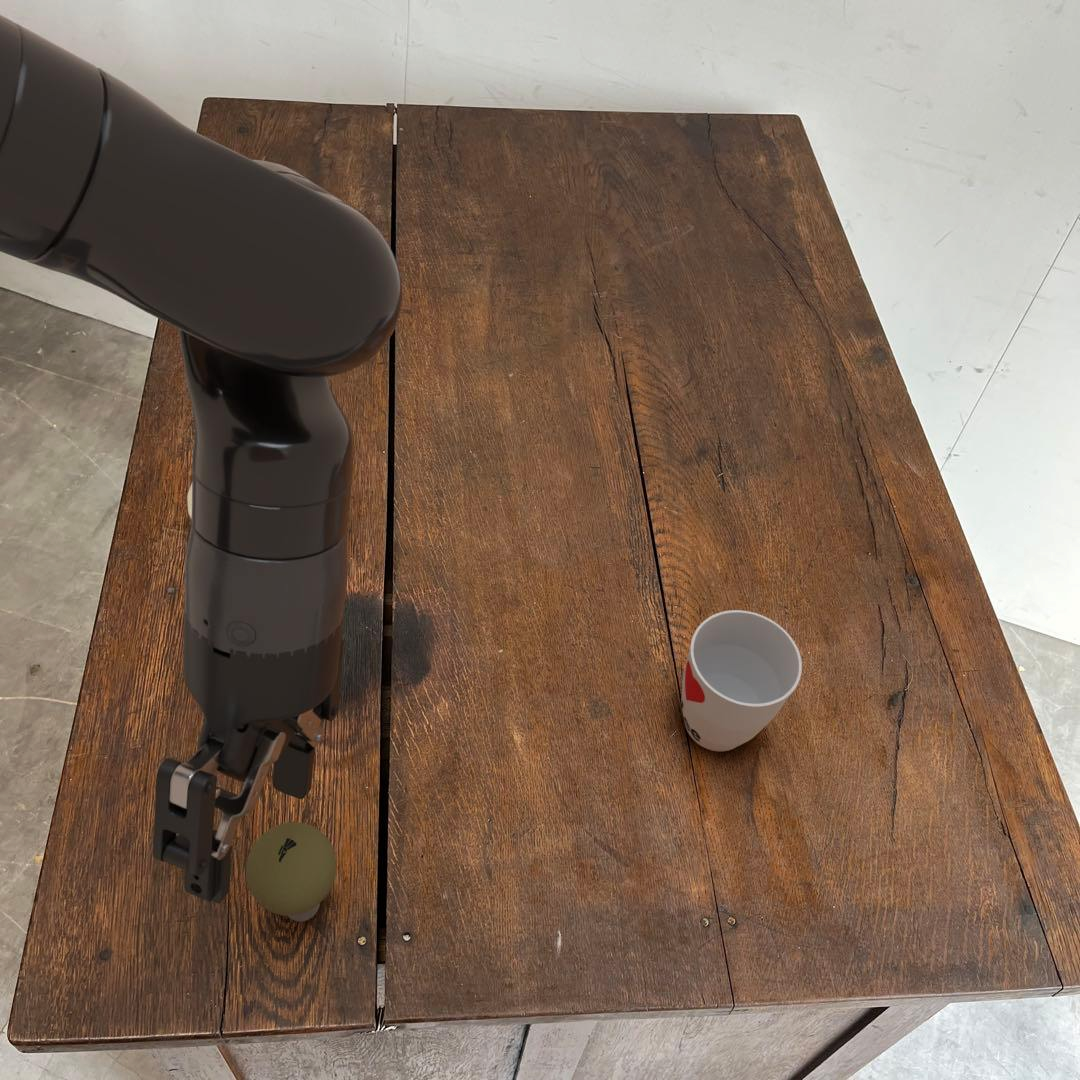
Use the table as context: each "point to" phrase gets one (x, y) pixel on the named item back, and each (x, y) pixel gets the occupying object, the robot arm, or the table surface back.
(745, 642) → the cup
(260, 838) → the light bulb
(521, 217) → the table surface
